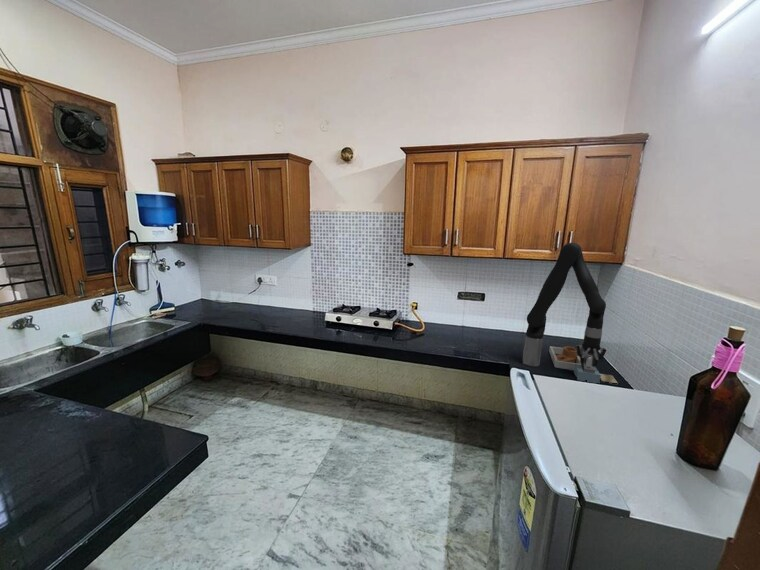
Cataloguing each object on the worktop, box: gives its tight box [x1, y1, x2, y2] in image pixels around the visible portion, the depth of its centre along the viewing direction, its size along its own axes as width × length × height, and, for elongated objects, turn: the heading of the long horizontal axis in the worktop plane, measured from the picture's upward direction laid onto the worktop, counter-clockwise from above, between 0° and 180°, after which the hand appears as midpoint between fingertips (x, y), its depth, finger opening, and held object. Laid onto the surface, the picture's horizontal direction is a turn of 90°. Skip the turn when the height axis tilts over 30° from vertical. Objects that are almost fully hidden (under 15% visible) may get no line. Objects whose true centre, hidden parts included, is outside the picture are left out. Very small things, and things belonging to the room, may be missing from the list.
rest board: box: [600, 373, 619, 385], centre depth 171 cm, size 7×9×1 cm
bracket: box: [555, 345, 578, 363], centre depth 193 cm, size 18×8×7 cm, turn 119°
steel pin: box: [583, 353, 595, 370], centre depth 171 cm, size 4×4×13 cm
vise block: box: [573, 363, 601, 384], centre depth 172 cm, size 10×10×7 cm
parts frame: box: [548, 345, 581, 371], centre depth 193 cm, size 14×24×4 cm, turn 159°
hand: (588, 364), depth 171 cm, fingers open, 5 cm apart
